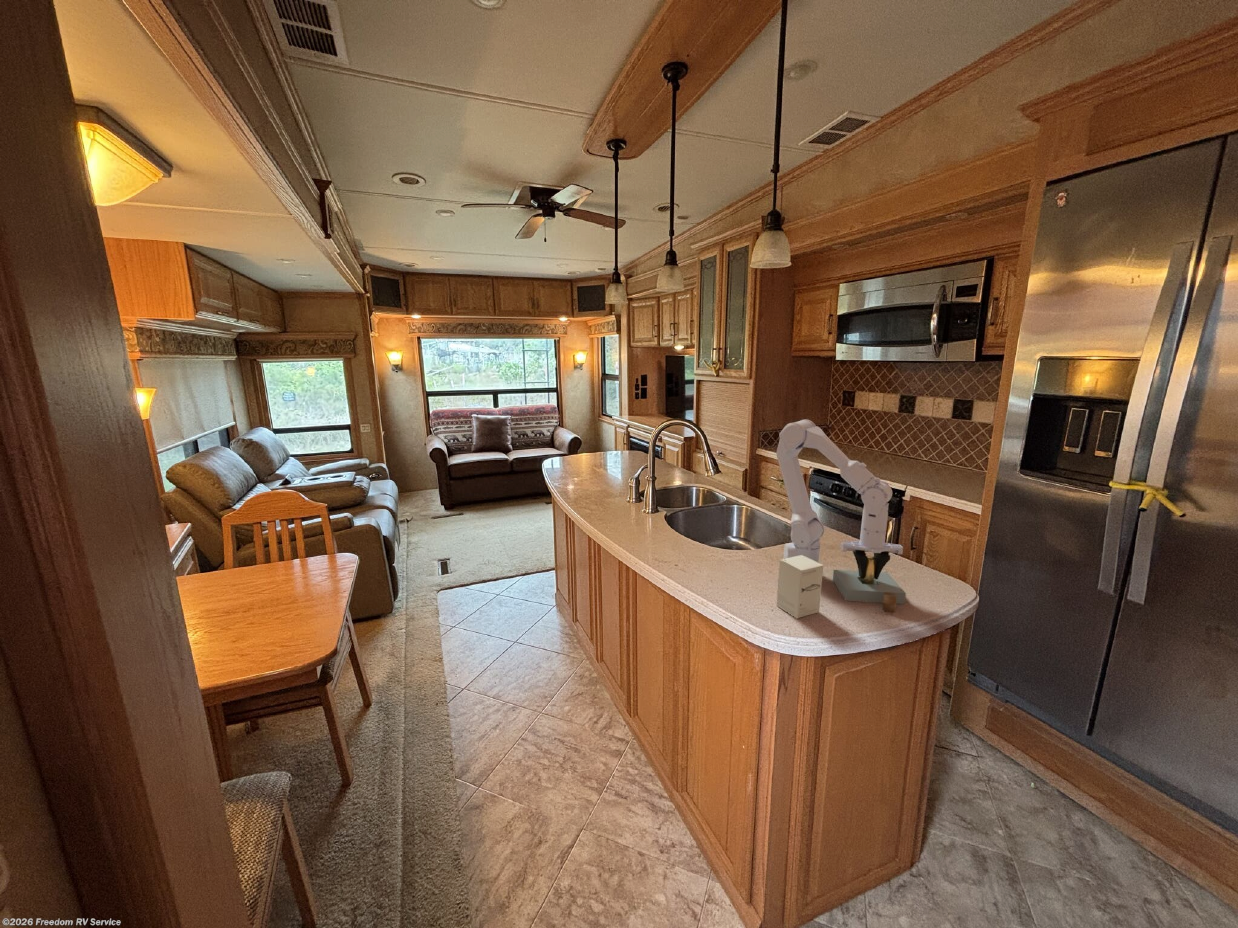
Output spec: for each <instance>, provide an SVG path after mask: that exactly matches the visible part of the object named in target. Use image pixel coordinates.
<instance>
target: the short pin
mask: <svg viewBox="0 0 1238 928" xmlns="http://www.w3.org/2000/svg"><path fill="white" fill-rule="evenodd" d="M896 600H897V595H895V594H893V593H889V592H886V593H884V597H883V603H882V608H881V609H882V611H883V612H885V613H889V614H893V613H895V612H896V609H897V607H896V606H897V604H896Z"/></svg>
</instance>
